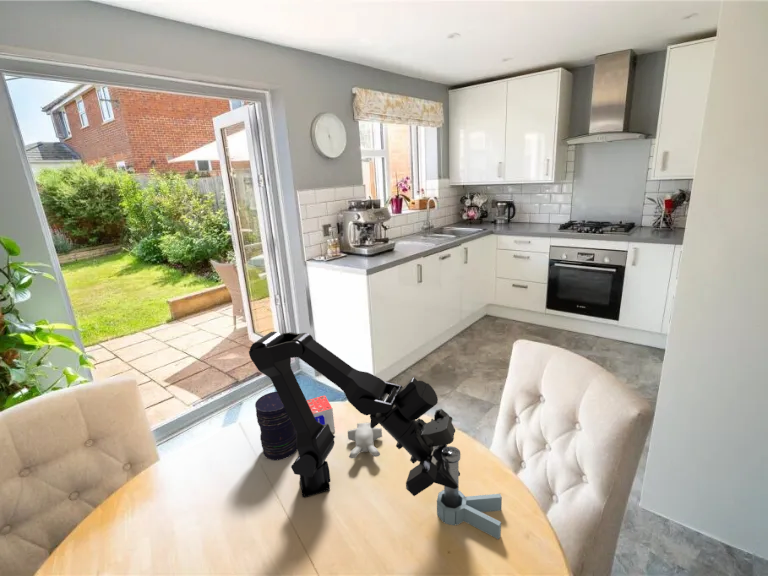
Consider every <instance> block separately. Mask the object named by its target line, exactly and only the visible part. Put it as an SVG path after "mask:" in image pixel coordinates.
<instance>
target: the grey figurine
mask: <svg viewBox="0 0 768 576" xmlns="http://www.w3.org/2000/svg"><path fill="white" fill-rule="evenodd" d="M370 424H371V421H370V422H359V423H358V422H357V424H356V428H353V429H350V430H348V431H347V440H349V441H353V442H355V447H354V448H353V449H351V450H350V453H349V456H348V457H349V459H355V458H357V456H358V455H359V454H361V453H366V452H369V454H371V455H372V456H373V457H376V458H377V457H379V456H380V455H381V453H380V452H379V451H380V450H378V448H377V447H375V443H374V441H376V440H378V439H380V438H382V437H383V432H382V428H380V427H377V426H375V427H374V428H371V427H370Z"/></svg>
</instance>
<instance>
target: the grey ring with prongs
mask: <svg viewBox="0 0 768 576" xmlns="http://www.w3.org/2000/svg"><path fill="white" fill-rule="evenodd" d="M502 499H503V497H502V495H501V493H490V494H482V495H481V494H480V495H479V494H478V495H467V496H466V495H465V494H464V493H463V492H462V491H461V490H459V507H457V508H455V509H453V508H448V507H445V505H444V489H443V490H441V491H439V492H438V494H437V500H436V514H437V517H439V519H440V520H441V522H442V523H444V524H445V525H451V526H459V525H460V524H462V523H463V522H465V523H466V524H468V525H469V526H471V527H474V528H476V529H478V530H479V531H482V532H483V533H485V534H487V535H488V536H490V537H493V538H495V539H496V540H498V541H499V540H500V538H501V536H502V535H501V534H502V521H500V520H498V519H496V518H494V517H492V516H489V515H488V514H486V512H487V513H491V512H499V511H502V506H503V505H502V503H503V502H502Z"/></svg>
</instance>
